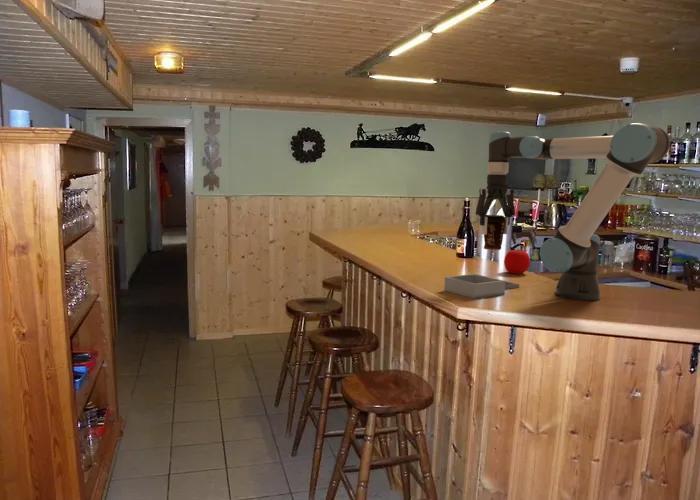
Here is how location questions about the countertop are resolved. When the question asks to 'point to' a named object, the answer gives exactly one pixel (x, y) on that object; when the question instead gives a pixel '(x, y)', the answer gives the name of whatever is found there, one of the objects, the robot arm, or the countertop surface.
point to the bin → (474, 286)
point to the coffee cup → (494, 232)
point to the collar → (511, 285)
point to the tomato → (517, 261)
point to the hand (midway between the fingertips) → (494, 234)
